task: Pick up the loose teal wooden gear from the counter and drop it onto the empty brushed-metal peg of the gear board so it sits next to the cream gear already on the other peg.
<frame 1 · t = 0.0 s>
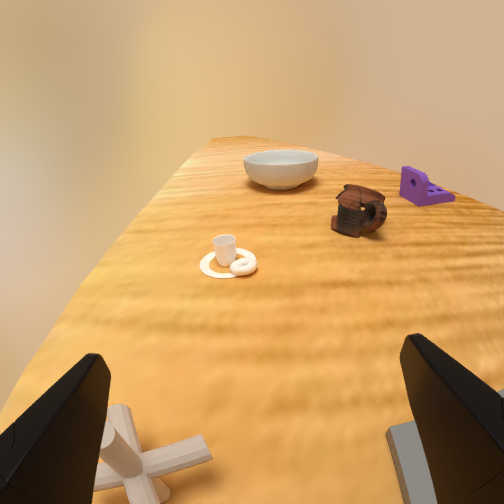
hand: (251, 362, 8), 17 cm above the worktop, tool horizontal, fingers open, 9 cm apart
cereal bowl: (281, 185, 74), on the worktop
gear board: (498, 452, 15), on the worktop
pipe connector: (159, 493, 17), on the worktop
pottery mug: (360, 229, 52), on the worktop
bracket: (427, 199, 63), on the worktop
teacup and saucer: (219, 278, 43), on the worktop
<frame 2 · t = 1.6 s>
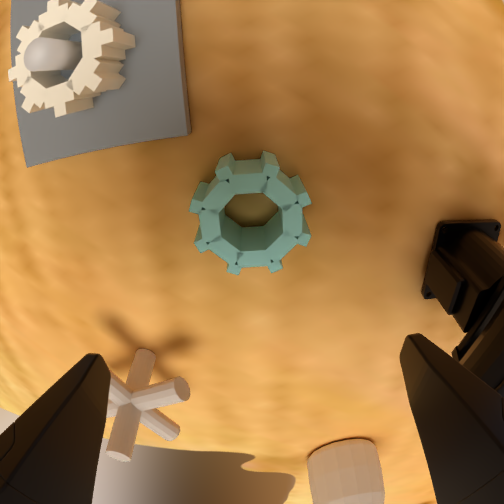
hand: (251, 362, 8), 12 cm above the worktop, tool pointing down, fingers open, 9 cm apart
gear board: (89, 2, 12), on the worktop
teal gear: (250, 202, 19), on the worktop
pipe connector: (146, 354, 26), on the worktop
soap bottle: (340, 450, 36), on the worktop
cream gear: (82, 56, 13), point 1 cm above the worktop, touching gear board
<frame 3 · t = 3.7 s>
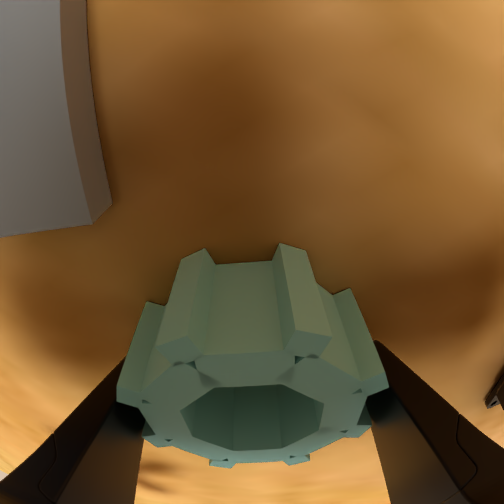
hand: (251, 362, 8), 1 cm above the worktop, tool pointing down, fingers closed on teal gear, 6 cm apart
teal gear: (251, 337, 9), on the worktop, touching gripper
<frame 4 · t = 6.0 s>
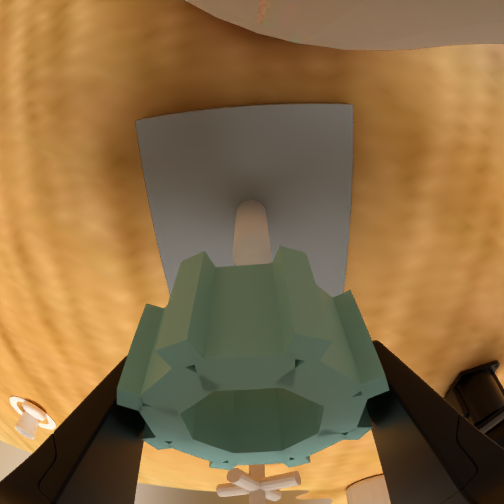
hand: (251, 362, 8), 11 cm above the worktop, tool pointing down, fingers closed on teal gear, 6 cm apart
gear board: (255, 262, 20), on the worktop
teal gear: (251, 339, 9), point 10 cm above the worktop, touching gripper
pipe connector: (256, 449, 33), on the worktop
soap bottle: (370, 481, 44), on the worktop
teacup and saucer: (51, 417, 33), on the worktop
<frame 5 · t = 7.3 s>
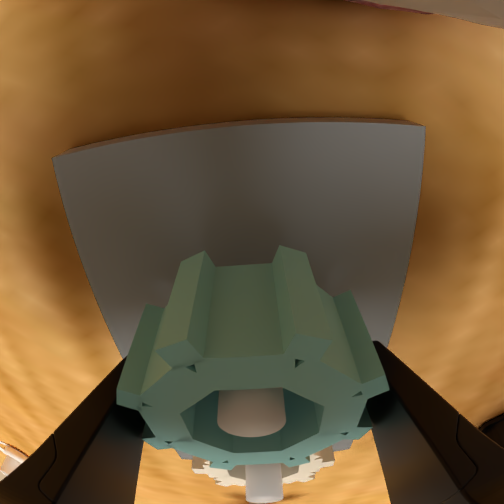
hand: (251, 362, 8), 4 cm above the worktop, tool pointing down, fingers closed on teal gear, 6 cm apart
gear board: (255, 353, 13), on the worktop
teal gear: (251, 339, 9), point 3 cm above the worktop, touching gripper
pipe connector: (257, 501, 27), on the worktop
cream gear: (261, 418, 14), point 1 cm above the worktop, touching gear board
teacup and saucer: (36, 460, 27), on the worktop
when the fingers open (3 cm above the worktop, at t = 8.4 s): teal gear stays where it is, resting on gear board.
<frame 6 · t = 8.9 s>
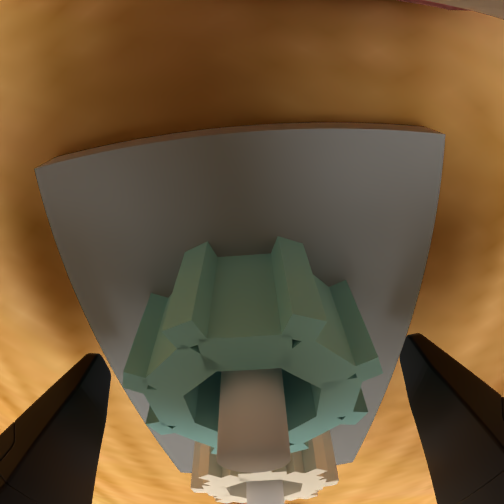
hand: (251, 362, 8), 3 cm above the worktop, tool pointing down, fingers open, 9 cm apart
gear board: (256, 371, 13), on the worktop
teal gear: (251, 327, 10), point 1 cm above the worktop, touching gear board
cream gear: (262, 436, 13), point 1 cm above the worktop, touching gear board
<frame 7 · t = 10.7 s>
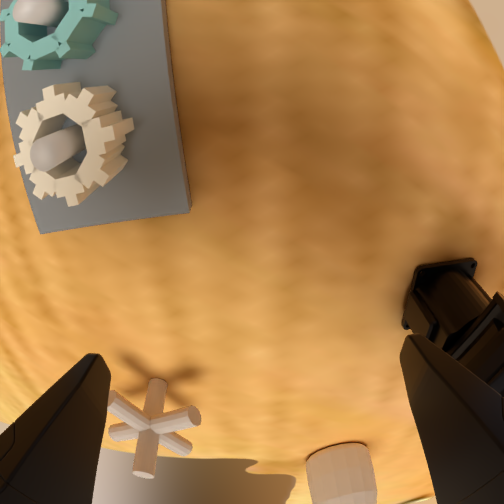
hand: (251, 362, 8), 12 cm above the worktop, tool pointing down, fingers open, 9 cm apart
gear board: (82, 73, 14), on the worktop
teal gear: (69, 17, 12), point 1 cm above the worktop, touching gear board
pipe connector: (158, 382, 28), on the worktop
soap bottle: (336, 453, 40), on the worktop
cream gear: (83, 135, 15), point 1 cm above the worktop, touching gear board
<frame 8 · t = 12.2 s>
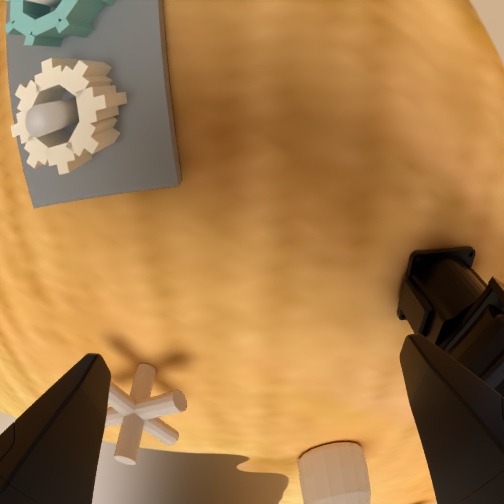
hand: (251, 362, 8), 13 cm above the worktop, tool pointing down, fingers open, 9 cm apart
gear board: (81, 52, 14), on the worktop
pipe connector: (147, 367, 28), on the worktop
soap bottle: (329, 452, 39), on the worktop
cream gear: (79, 109, 15), point 1 cm above the worktop, touching gear board
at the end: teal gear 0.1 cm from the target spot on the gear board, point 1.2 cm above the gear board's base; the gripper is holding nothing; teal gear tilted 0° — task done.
